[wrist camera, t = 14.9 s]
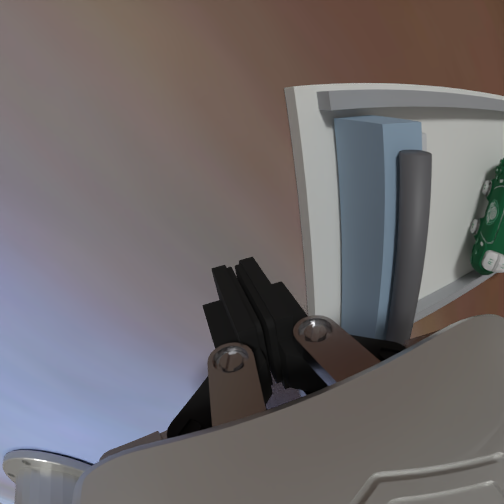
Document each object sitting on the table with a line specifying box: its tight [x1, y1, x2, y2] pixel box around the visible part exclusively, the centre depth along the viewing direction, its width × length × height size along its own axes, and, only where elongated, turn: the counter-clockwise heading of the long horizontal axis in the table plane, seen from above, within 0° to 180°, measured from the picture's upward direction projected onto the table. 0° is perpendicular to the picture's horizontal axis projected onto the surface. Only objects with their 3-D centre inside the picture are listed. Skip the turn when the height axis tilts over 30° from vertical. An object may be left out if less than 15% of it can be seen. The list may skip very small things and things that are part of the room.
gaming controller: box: [470, 158, 504, 275], centre depth 16 cm, size 9×4×6 cm
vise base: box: [284, 83, 504, 327], centre depth 16 cm, size 15×22×4 cm
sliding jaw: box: [334, 115, 432, 344], centre depth 13 cm, size 12×2×4 cm, turn 9°
